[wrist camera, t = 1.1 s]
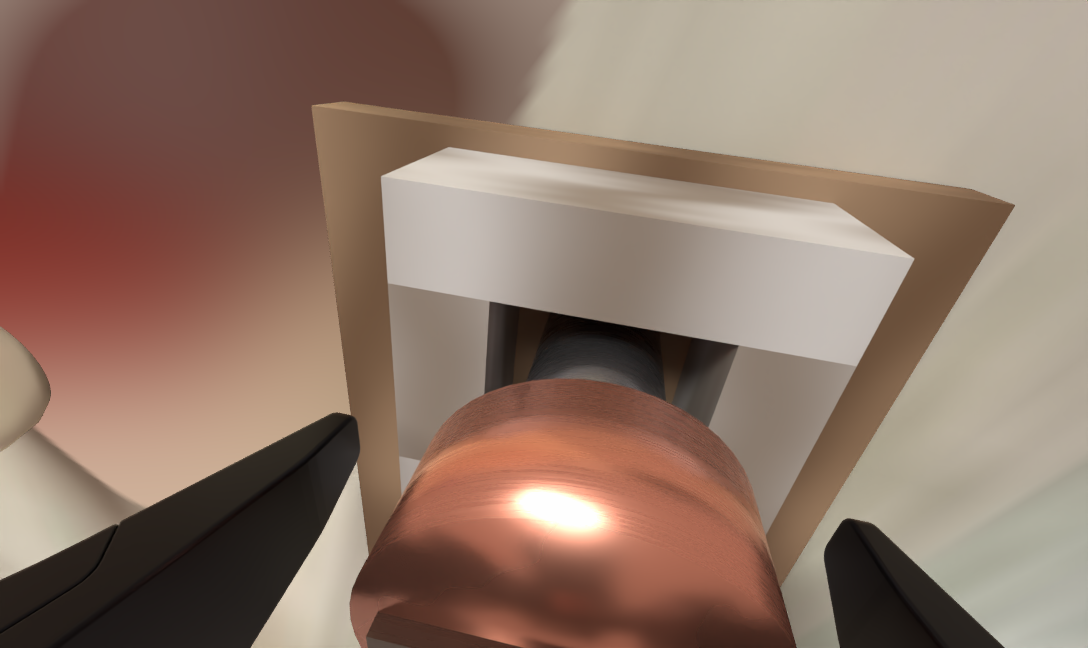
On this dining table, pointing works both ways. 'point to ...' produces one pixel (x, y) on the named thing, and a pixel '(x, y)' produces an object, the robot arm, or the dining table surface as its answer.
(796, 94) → the dining table surface
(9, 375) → the plastic bottle
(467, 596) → the copper knob
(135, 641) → the robot arm
